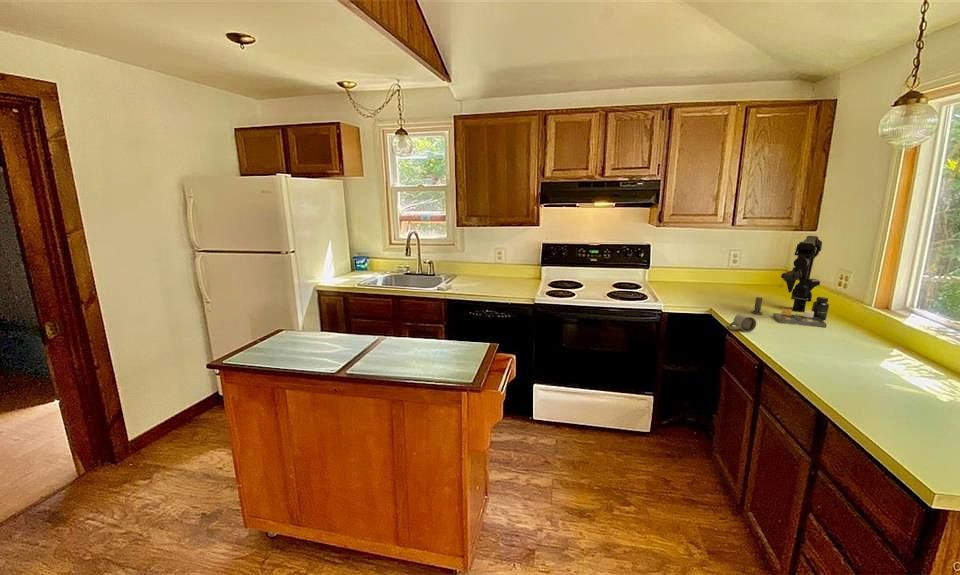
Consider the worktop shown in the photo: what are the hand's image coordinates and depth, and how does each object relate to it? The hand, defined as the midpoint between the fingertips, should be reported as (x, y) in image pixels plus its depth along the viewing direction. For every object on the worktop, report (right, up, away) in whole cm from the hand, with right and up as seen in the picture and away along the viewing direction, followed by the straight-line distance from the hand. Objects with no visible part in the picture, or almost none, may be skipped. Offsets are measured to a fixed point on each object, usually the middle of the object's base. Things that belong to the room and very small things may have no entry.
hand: (796, 294), depth 227 cm
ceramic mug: (-41, -17, -18) cm, 48 cm away
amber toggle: (-6, -11, 0) cm, 13 cm away
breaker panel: (-2, -14, -4) cm, 15 cm away
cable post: (-15, -11, +9) cm, 21 cm away
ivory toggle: (+3, -12, -3) cm, 13 cm away
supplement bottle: (+12, -13, +1) cm, 18 cm away
